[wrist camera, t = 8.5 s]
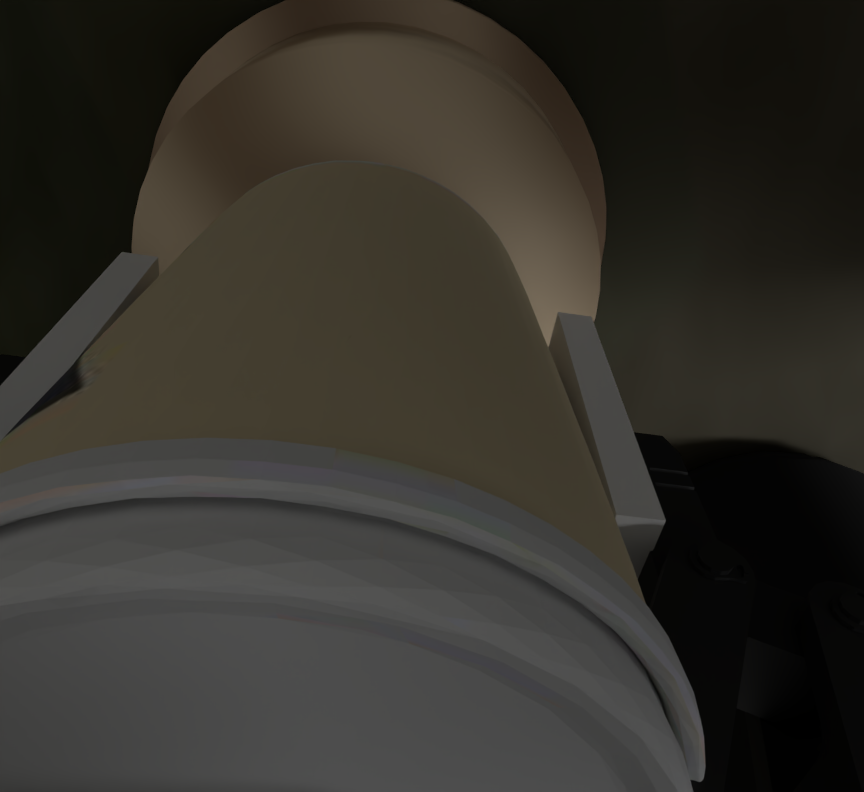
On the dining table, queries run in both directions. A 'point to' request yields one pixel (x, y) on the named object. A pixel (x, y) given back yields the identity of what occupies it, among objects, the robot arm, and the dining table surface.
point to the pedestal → (387, 131)
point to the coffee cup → (326, 528)
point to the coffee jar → (783, 537)
